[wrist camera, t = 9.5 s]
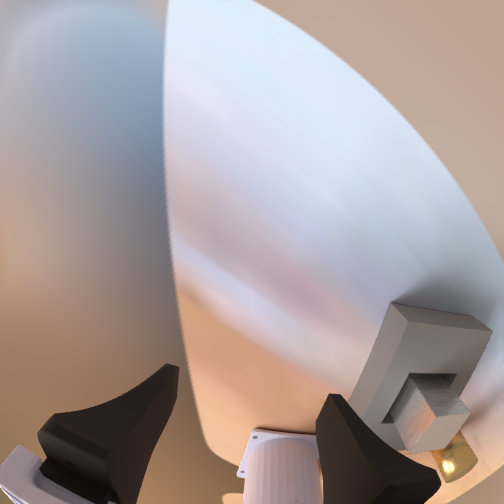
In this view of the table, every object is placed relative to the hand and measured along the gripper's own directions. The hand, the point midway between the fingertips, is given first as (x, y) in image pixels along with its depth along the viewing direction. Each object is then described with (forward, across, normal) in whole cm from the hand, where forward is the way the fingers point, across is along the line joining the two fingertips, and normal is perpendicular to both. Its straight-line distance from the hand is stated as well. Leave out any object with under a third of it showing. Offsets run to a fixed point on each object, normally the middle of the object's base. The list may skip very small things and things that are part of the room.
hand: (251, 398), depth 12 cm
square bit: (+8, -15, +4) cm, 18 cm away
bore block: (+9, -15, +4) cm, 18 cm away
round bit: (+9, -26, +13) cm, 31 cm away
